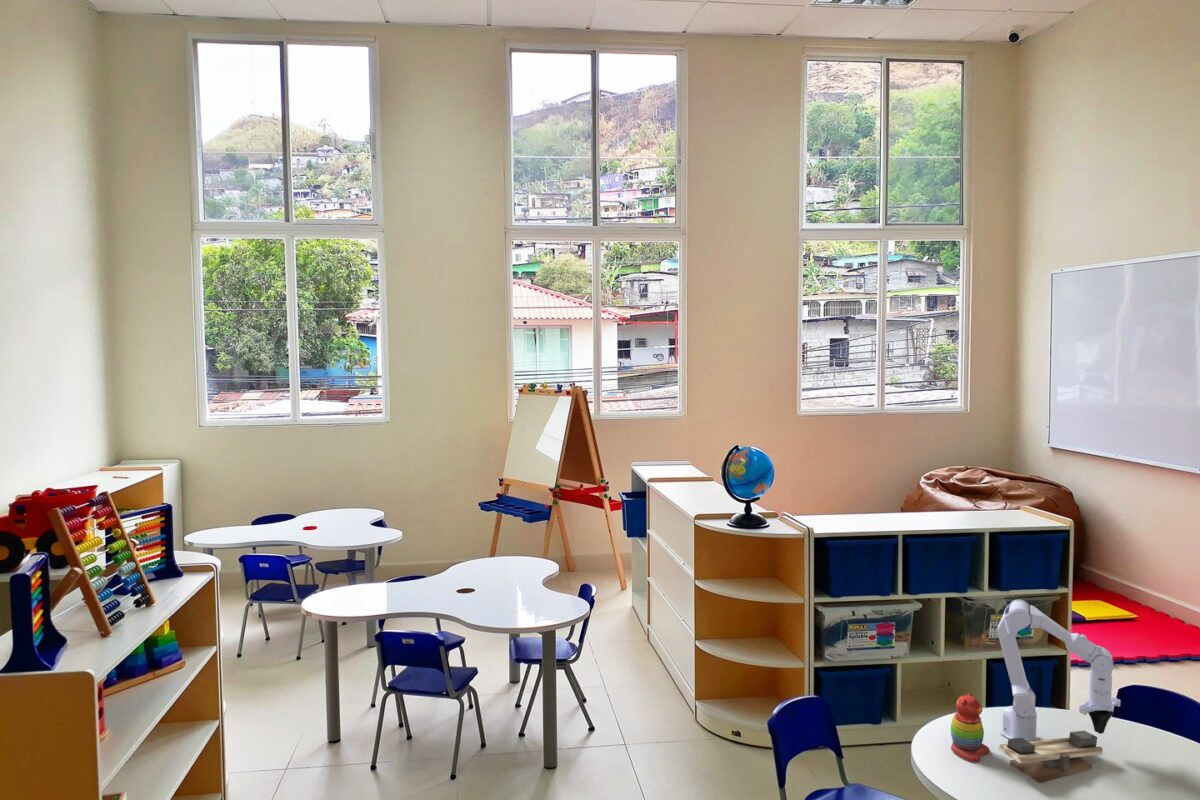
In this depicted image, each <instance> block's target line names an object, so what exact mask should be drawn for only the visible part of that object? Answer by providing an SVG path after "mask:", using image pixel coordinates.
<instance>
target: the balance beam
mask: <svg viewBox="0 0 1200 800" xmlns="http://www.w3.org/2000/svg"><path fill="white" fill-rule="evenodd" d="M1030 743H1032V744H1033V745H1035V751H1034V754H1025V755H1019V754H1018V753H1016V752H1014V751H1013V750H1011V749H1009V748H1008V747H1007V746H1008V743H1001V744H999V746H998V751H1000V752H1001V753H1002V754H1004V755H1006V756H1008V757H1010V758H1011V759H1012V760H1016V761H1018V762H1019V763H1028V762H1037V761H1046V760H1055V759H1061V755H1063V754H1068V755H1069V756H1070V758H1074V757H1079V758H1083V757H1091V756H1092V757H1093V756H1101V755H1103V752H1104V750H1103V747H1101V746H1096V747H1092V748H1082V749H1078V748H1076V747H1075V746H1073V745H1071V744H1069V737H1063V738H1053V739H1051V738H1050V739H1041V740H1040V741H1030Z"/></svg>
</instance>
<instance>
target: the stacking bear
mask: <svg viewBox="0 0 1200 800" xmlns="http://www.w3.org/2000/svg"><path fill="white" fill-rule="evenodd" d="M956 699H957V700H956V703H955V704H956V710H957V712H955V714H954V715H953V716H952V721H951V724H950V737H951V740H952V743H951V745H950V746H951V747H950V749H951V752H952V753H954V755H956V754H957V755H958V757H959V756H960V757H959V758H961V759H962V758H963V760H965V761H967V760H968V762H970V761H971V762H970V763H979V762H980V761H981V757H983V756H986V755H989V754H990V753H991V751H990V750H991V749H990V748H989V746H988V745H986V744H984V743H983V741H984V735H985V734H984V731H985V730H984V726H983V721H982V717H981V716H980V715H981V714H982V712H983V707H982V705H981V703H980V702H979V701H978V699H976V698H975V697H974V696H972V693H967V694H966V695H965V694H963V695H960V696H959V697H958V698H956ZM957 755H956V756H957ZM978 761H979V762H978Z"/></svg>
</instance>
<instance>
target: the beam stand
mask: <svg viewBox="0 0 1200 800" xmlns="http://www.w3.org/2000/svg"><path fill="white" fill-rule="evenodd" d="M1036 738H1037V739H1034V741H1040V740H1042V739H1041V738H1038V737H1036ZM1009 765H1010V766H1011V767H1014V768H1015V769H1017V770H1018V771H1020V772H1021V773H1022V774H1025V775H1026V776H1028V777H1029V778H1031V779H1033V780H1034V781H1035V782H1037V783H1039V784H1042V783H1046V782H1048V781H1049V782H1050V781H1053V780H1057V779H1061V778H1064V777H1066V776H1067V775H1068V776H1070V775H1074V774H1077V773H1078V774H1079V773H1082V772H1085V771H1088V770H1092V769H1093V764H1092V763H1089V762H1088V761H1087V760H1084V759H1083V758H1082V757H1074V758H1070V756H1069V755H1068V754H1063V755H1061V759H1055V760H1046V761H1037V762H1028V763H1019V762H1018V761H1016V760H1014V759H1010V760H1009ZM1063 776H1064V777H1063ZM1060 777H1061V778H1060Z"/></svg>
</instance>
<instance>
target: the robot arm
mask: <svg viewBox="0 0 1200 800" xmlns="http://www.w3.org/2000/svg"><path fill="white" fill-rule="evenodd" d="M1027 627H1029V628H1030V629H1038V628H1040V629H1042V630H1044V631H1045V632H1047V633H1049V634H1050V635H1052V636H1054V637H1056V638H1057V639H1059V640H1060V641H1062V642H1063V643H1064V644H1065V647H1066V649H1067V650H1068V651H1070V652H1072V653H1073V654H1075V655H1076V656H1077V657H1079V658H1080V659H1082V660H1083V661H1085V662H1086V663H1089V664H1090V667H1091V669H1090V670H1091V671H1090V673H1089V695H1088V696H1089V697H1088V698H1089V699H1088V700H1087V701H1086V702H1085V703H1084V704H1081V705H1079V706H1078V707H1079V709H1078V713H1080V714H1081V715H1083V716H1086V715H1089V717H1090V719H1091V722H1092V726H1093V729H1094V730H1093V731H1094V732H1096V733H1098V734H1100V735H1101V734H1104V732H1105V730H1106V727H1107V725H1108V723H1109V721H1110V719H1111V717H1112V716H1113V715H1114V707H1117V708H1118V707H1121V699H1118V698H1117V697H1112V693H1113V692H1112V689H1113V688H1112V687H1113V676H1112V673H1113V670H1114V667H1115V665H1114V662H1113V656H1112V654H1111V652H1110V651H1109V650H1108V649H1107V648H1105V647H1103V646H1101V645H1096V644H1095V643H1093V642H1091V641H1090V640H1089V639H1087V638H1088V637H1087V636H1086V635H1085V634H1079V633H1077V632H1074V633H1072V632H1069V630H1067V629H1066V628H1065V627H1063V626H1061V625H1060V624H1058V623H1057V622H1056V621H1054V620H1053V619H1051V617H1048V615H1046V614H1045V613H1044V612H1042V611H1041V610H1039V609H1038V608H1037V607H1035V606H1034V605H1032V604H1029V603H1028V602H1027V601H1025V600H1023V599H1015V600H1012V601H1011V602H1010V603H1009V604H1008V605H1007V606H1006V607H1005V609H1004V612H1003V614H1002V616H1001V619H1000V621H999V623H998V626H997V635H998V639H999V643H1000V648H1001V651H1002V654H1003V658H1004V662H1005V666H1006V669H1007V672H1008V673H1007V674H1008V678H1009V681H1010V684H1011V691H1012V697H1013V702H1012V705H1009V706H1007V707H1005V708H1004V711H1003V714H1002V731H1001V732H1000V735H1001V736H1003V737H1005V738H1007V739H1012V738H1023V739H1025V740H1026V741H1028V742H1030V741H1034V739H1037V738H1038V737H1037V722H1038V721H1037V717H1038V713H1037V711H1036V694H1035V692H1034V691H1033V690H1032V688H1031V687H1030V684H1029V682H1028V680H1027V677H1026V672H1025V669H1024V664H1023V660H1022V657H1021V654H1020V650H1019V645H1018V642H1017V639H1016V635H1017V633H1018V632H1019V631H1022V630H1023V629H1025V628H1027Z"/></svg>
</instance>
